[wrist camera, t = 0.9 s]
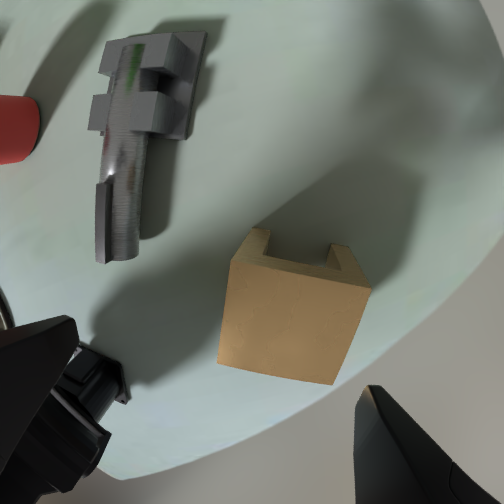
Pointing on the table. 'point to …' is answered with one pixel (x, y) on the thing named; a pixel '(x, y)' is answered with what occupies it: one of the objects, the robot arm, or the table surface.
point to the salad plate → (4, 317)
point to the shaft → (138, 126)
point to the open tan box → (290, 312)
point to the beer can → (17, 127)
